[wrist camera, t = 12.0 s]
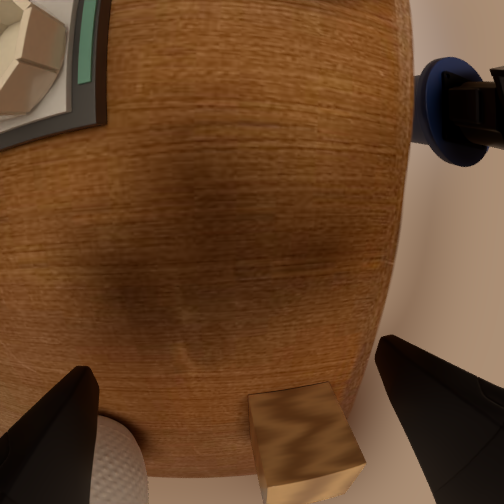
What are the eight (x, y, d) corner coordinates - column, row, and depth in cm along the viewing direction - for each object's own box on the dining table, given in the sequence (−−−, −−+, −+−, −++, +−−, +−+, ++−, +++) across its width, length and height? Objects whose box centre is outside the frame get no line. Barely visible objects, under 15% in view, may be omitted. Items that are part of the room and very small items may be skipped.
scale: (114, -23, 11) (103, -41, 8) (107, 124, 15) (91, 123, 13) (7, 17, 10) (-12, 8, 7) (0, 151, 14) (-23, 157, 11)
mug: (65, 447, 27) (50, 524, 15) (20, 395, 22) (-13, 484, 11) (164, 452, 28) (165, 546, 16) (129, 400, 24) (115, 522, 12)
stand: (328, 381, 26) (367, 463, 17) (317, 424, 30) (344, 493, 21) (247, 394, 25) (267, 487, 16) (249, 436, 29) (265, 512, 20)
